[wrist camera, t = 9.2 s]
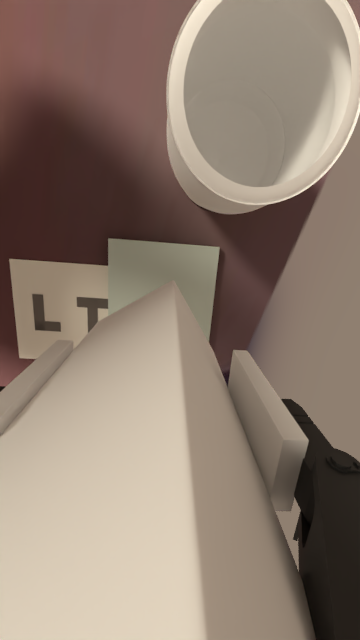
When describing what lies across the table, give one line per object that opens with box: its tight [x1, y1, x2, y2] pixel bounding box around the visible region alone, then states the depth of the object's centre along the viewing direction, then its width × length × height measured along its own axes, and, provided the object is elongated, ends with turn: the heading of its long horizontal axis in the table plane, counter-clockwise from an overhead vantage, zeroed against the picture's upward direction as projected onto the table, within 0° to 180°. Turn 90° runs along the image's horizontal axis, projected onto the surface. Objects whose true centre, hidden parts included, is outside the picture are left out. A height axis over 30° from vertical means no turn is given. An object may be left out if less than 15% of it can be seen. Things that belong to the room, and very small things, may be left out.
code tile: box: [9, 259, 108, 359], centre depth 32 cm, size 12×12×1 cm
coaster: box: [108, 238, 220, 342], centre depth 31 cm, size 12×12×1 cm
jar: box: [166, 0, 360, 214], centre depth 21 cm, size 11×10×15 cm
